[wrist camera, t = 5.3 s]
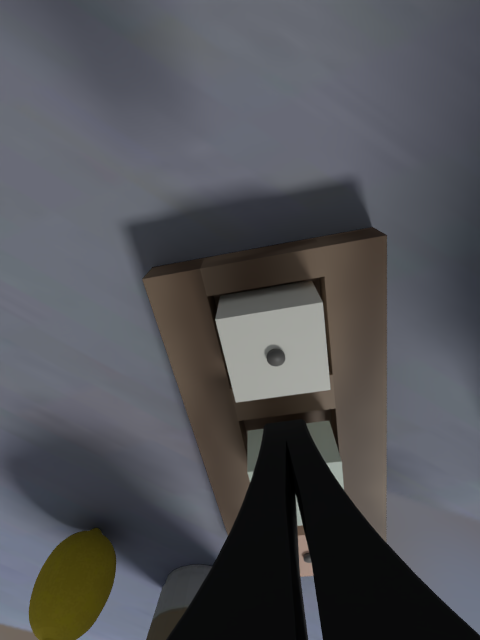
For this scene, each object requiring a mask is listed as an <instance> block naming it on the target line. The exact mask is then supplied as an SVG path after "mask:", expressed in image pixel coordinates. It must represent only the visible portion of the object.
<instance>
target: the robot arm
mask: <svg viewBox="0 0 480 640" xmlns="http://www.w3.org/2000/svg"><path fill="white" fill-rule="evenodd" d="M296 498H297V502H298V506H299V511H300V515H301V519H302V524H303V528H304V532H305V537H306V541H307V545H308V550H309V554H310V558H311V563H312V569H313V576H314V582H315V589H316V596H317V602H318V609H319V616H320V622H321V629H322V636H323V640H480V635H479V634H478V633H477V632H476V631H474V630H473V629H472V628H471V627H470V626H469V625H468V624H467V623H466V622H465V621H464V620H463V619H461V618H460V617H459V616H458V615H457V614H456V613H455V612H454V611H452V609H450V607H449V606H447V605H446V604H445V603H444V602H443V601H442V600H441V599H440V598H439V597H438V596H437V595H436V594H435V593H434V592H433V591H432V590H431V589H430V588H429V587H428V586H427V585H426V584H425V583H424V582H423V581H422V580H421V579H420V578H419V577H418V576H417V575H416V574H415V573H414V572H413V571H412V570H411V569H410V568H409V567H408V566H407V565H406V563H405V562H404V561H403V560H402V559H401V558H400V557H399V556H398V555H397V554H396V553H395V552H394V551H393V550H392V548H391V547H390V546H389V545H388V544H387V543H386V542H385V541H384V540H383V539H382V537H381V536H380V535H379V534H378V533H377V532H376V530H375V529H374V528H373V527H372V526H371V524H370V523H369V522H368V521H367V520H366V518H365V517H364V516H363V515H362V513H361V512H360V511H359V510H358V508H357V507H356V506H355V504H354V503H353V502H352V500H351V499H350V498H349V496H348V495H347V494H346V492H345V491H344V489H343V488H342V487H341V485H340V484H339V482H338V481H337V479H336V478H335V476H334V475H333V473H332V472H331V470H330V469H329V467H328V465H327V464H326V462H325V461H324V459H323V457H322V456H321V454H320V452H319V450H318V448H317V447H316V445H315V443H314V441H313V439H312V437H311V435H310V432H309V430H308V428H307V425H306V422H305V421H304V420H302V419H299V420H291V421H283V422H275V423H267V424H266V425H265V426H264V428H263V436H262V442H261V447H260V451H259V455H258V459H257V462H256V465H255V469H254V472H253V475H252V478H251V481H250V484H249V487H248V490H247V492H246V495H245V498H244V501H243V503H242V506H241V508H240V511H239V513H238V515H237V518H236V520H235V522H234V524H233V526H232V529H231V531H230V533H229V535H228V537H227V539H226V541H225V543H224V545H223V547H222V549H221V551H220V553H219V555H218V557H217V559H216V561H215V562H214V564H213V566H212V568H211V570H210V571H209V573H208V575H207V576H206V578H205V580H204V581H203V583H202V585H201V587H200V588H199V590H198V592H197V593H196V595H195V597H194V598H193V600H192V602H191V603H190V605H189V606H188V608H187V609H186V611H185V613H184V614H183V615H182V617H181V618H180V620H179V621H178V623H177V624H176V626H175V627H174V629H173V630H172V632H171V633H170V635H169V636H168V637H167V639H166V640H308V635H307V627H306V619H305V612H304V604H303V596H302V588H301V579H300V567H299V548H298V529H297V510H296Z"/></svg>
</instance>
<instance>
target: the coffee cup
mask: <svg viewBox="0 0 480 640" xmlns="http://www.w3.org/2000/svg"><path fill="white" fill-rule="evenodd" d="M211 568H212V566H208V565H188V566H183V567H180V568H178V569H176V570H173V571H172V572H171V573H170V574H169V575H168V577H167V580H166V583H165V585H164V586H163V588H162V591H161V594H160V597H159V600H158V603H157V607H156V610H155V613H154V616H153V620H152V623H151V626H150V629H149V632H148V636H147V639H146V640H166V639H167V637H168V636H169V635H170V633H171V632H172V630H173V629H174V627H175V626H176V624H177V623H178V621H179V620H180V618H181V617H182V615H183V614H184V613H185V611H186V609H187V608H188V606H189V605H190V603H191V602H192V600H193V598H194V597H195V595H196V593H197V592H198V590H199V588H200V587H201V585H202V583H203V581H204V580H205V578H206V576H207V575H208V573H209V571H210V570H211Z"/></svg>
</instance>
